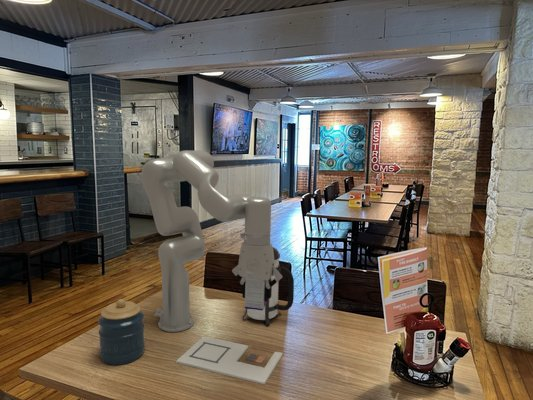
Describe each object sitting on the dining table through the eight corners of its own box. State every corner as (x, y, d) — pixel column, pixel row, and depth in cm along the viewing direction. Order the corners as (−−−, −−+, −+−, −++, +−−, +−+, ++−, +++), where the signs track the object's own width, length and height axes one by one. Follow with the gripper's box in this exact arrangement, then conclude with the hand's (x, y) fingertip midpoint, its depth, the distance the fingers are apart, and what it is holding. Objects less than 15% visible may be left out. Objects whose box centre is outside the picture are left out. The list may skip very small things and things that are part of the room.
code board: (176, 362, 110) (176, 360, 110) (203, 337, 125) (203, 335, 125) (264, 384, 101) (264, 382, 101) (282, 354, 116) (282, 352, 116)
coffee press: (246, 330, 131) (247, 247, 127) (239, 311, 147) (239, 236, 143) (293, 325, 135) (295, 245, 131) (281, 307, 151) (283, 235, 147)
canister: (130, 368, 107) (128, 310, 105) (90, 363, 109) (87, 306, 107) (152, 345, 120) (151, 293, 117) (115, 341, 122) (113, 289, 120)
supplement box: (263, 310, 108) (264, 272, 106) (244, 308, 109) (244, 271, 107) (267, 302, 113) (268, 266, 112) (248, 301, 115) (249, 265, 113)
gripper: (225, 239, 108) (224, 298, 110) (281, 245, 102) (279, 307, 104) (235, 233, 115) (235, 289, 117) (289, 239, 109) (287, 298, 111)
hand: (256, 297), depth 111 cm, fingers closed on supplement box, 6 cm apart
